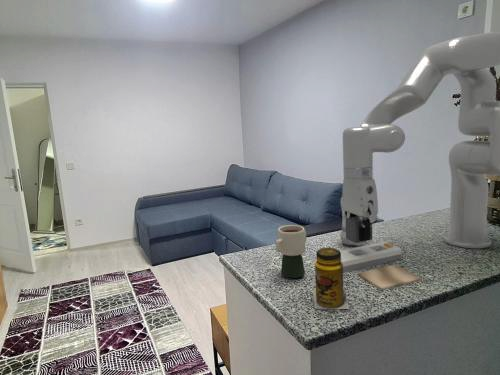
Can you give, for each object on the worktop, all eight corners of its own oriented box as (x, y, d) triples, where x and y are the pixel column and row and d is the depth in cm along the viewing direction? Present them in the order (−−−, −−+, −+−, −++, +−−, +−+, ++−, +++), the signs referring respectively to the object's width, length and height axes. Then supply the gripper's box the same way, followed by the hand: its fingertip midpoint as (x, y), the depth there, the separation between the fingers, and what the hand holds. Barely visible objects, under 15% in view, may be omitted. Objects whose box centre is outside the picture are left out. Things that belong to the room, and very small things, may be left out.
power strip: (384, 251, 100) (384, 239, 100) (401, 259, 94) (401, 247, 93) (326, 263, 94) (326, 251, 94) (341, 272, 88) (340, 260, 87)
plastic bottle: (338, 241, 111) (337, 183, 107) (357, 240, 111) (357, 182, 108) (344, 248, 105) (343, 186, 101) (365, 247, 105) (365, 185, 101)
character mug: (297, 265, 94) (295, 221, 92) (316, 272, 89) (315, 226, 87) (269, 277, 88) (266, 230, 86) (287, 286, 82) (285, 236, 80)
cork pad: (394, 266, 90) (394, 264, 89) (421, 279, 81) (421, 278, 81) (357, 275, 86) (357, 273, 86) (381, 290, 77) (381, 288, 77)
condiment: (314, 309, 71) (313, 257, 69) (312, 290, 80) (311, 243, 77) (349, 310, 70) (349, 257, 68) (343, 290, 79) (343, 242, 76)
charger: (362, 239, 95) (361, 215, 94) (372, 243, 91) (372, 218, 90) (346, 242, 94) (345, 218, 93) (355, 247, 90) (355, 222, 88)
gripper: (391, 175, 82) (391, 244, 86) (350, 168, 98) (352, 227, 101) (366, 178, 80) (367, 249, 83) (328, 171, 96) (330, 231, 99)
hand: (359, 236), depth 92 cm, fingers closed on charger, 4 cm apart
